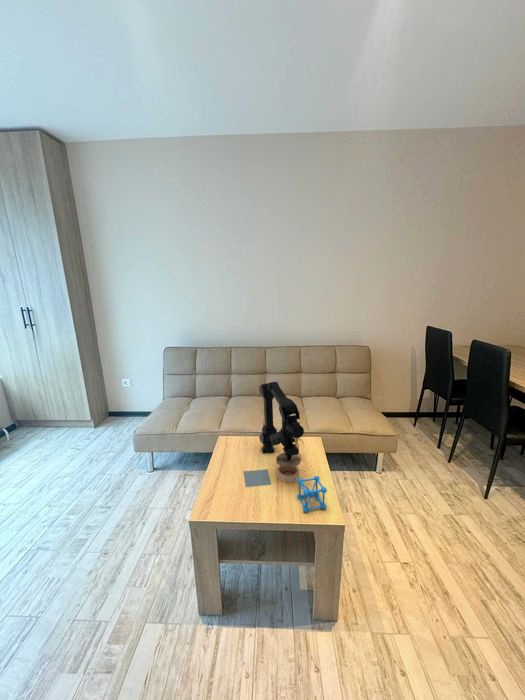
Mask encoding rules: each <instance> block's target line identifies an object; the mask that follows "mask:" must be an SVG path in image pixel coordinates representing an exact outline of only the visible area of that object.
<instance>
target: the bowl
mask: <svg viewBox="0 0 525 700" xmlns="http://www.w3.org/2000/svg"><path fill="white" fill-rule="evenodd" d="M276 475H277V479H278V480H279V481H280V482H283V483H284V484H290V483H292V484H293V483H295V482H297V480H298V478H300V470H299V467H298V465H297V466H295V467H291V468H286V467H282V466H280V465H278V467H277V468H276Z"/></svg>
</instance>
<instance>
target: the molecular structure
mask: <svg viewBox="0 0 525 700" xmlns="http://www.w3.org/2000/svg"><path fill="white" fill-rule="evenodd" d="M320 480H321V478H320V476H319V475H314V477H313V478H312V477H310V478H306V479H304V478H303V479H302V478H301V477H299V478H298V480H297V481H296V482H297V483H298V494H297V495H296V496H297V497H296V498H297V499H298V500H300V502H301V504H302V511H303V512H304V513H308V512H309V511H310V510H314V509H315V510H317V509H322V510H326V508H327V505H326V503H325V499H326V498H325V497H326V495H325V494H326V493H327V491H328V490H327V487H326V486H323V484H322V483H321V481H320ZM308 481H314V483H313V486H312V488H311V490H310V489H309V488H308V487H307V486H306V484H305V483H304V482H308ZM318 485H319V486H320V488H321V489H318V488H319V487H318ZM301 487H302V488H301ZM302 489H303V491H302ZM301 491H302V492H301ZM301 493H302V494H301ZM320 493H322V500H321V498H320ZM312 497H313V498H314V499H315V500H316V501H317V502H318V504H319V505H317V506H311V507H309V504H310V502H311V498H312ZM303 498H304V500H303Z"/></svg>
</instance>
